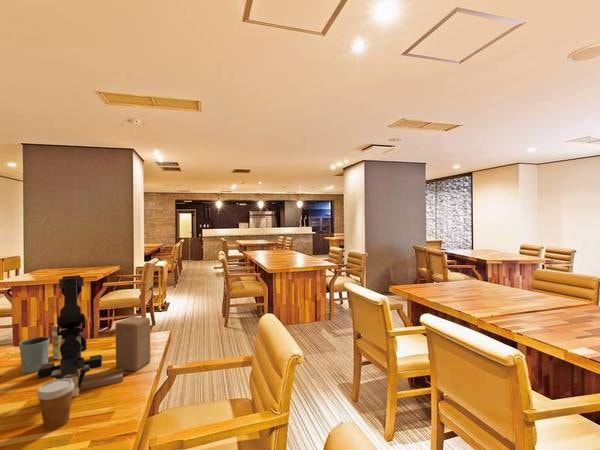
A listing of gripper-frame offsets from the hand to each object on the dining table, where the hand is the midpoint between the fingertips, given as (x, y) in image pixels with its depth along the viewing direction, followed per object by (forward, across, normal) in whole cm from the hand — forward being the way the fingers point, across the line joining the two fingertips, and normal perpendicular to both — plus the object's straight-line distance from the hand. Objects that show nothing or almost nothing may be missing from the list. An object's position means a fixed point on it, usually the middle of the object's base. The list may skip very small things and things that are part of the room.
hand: (72, 389), depth 119 cm
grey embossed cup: (+2, -17, +33) cm, 37 cm away
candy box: (+2, -8, +42) cm, 43 cm away
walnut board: (+2, +5, +6) cm, 8 cm away
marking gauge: (+2, 0, +3) cm, 4 cm away
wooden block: (+2, +20, +15) cm, 25 cm away
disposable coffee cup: (+2, -2, -18) cm, 18 cm away
